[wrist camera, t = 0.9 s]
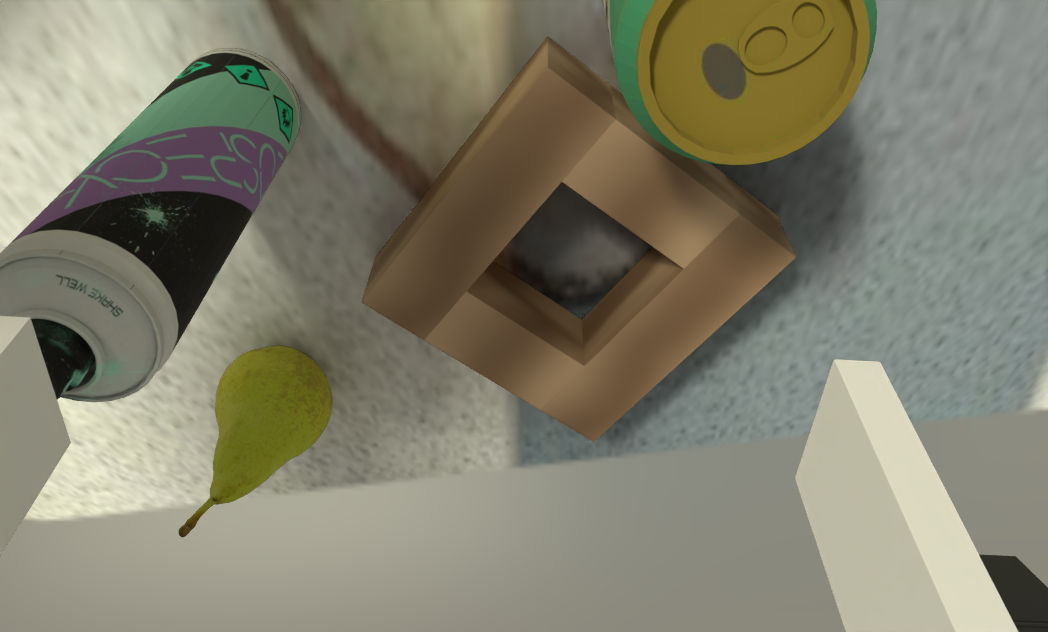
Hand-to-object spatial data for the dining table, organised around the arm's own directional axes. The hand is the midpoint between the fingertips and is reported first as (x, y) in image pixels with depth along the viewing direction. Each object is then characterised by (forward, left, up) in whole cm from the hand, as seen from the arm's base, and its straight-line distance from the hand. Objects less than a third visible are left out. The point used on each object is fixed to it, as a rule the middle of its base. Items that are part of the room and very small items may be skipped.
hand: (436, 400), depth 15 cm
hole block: (+10, -7, -27) cm, 29 cm away
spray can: (-6, -11, -27) cm, 30 cm away
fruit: (+2, -23, -27) cm, 35 cm away
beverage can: (+6, +6, -27) cm, 28 cm away
